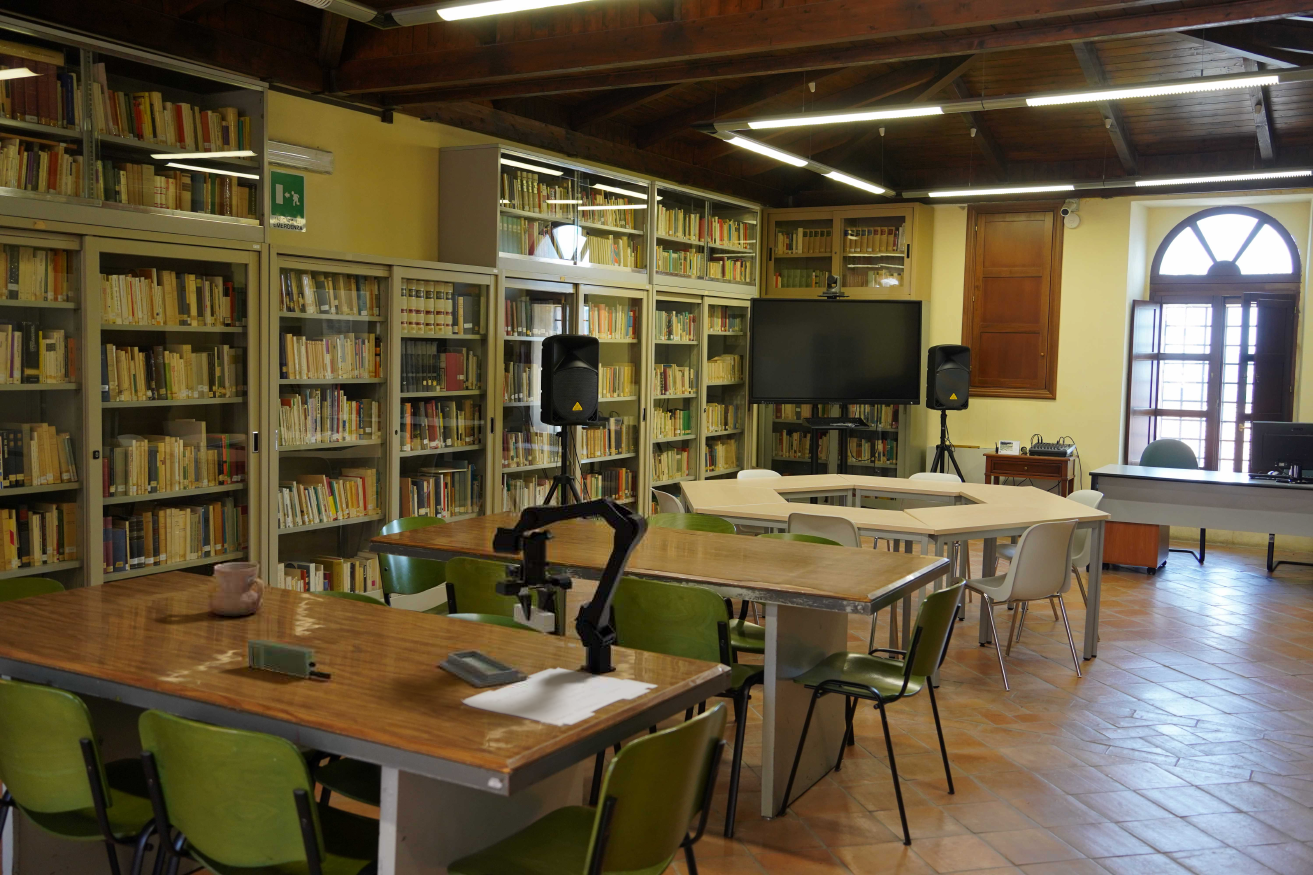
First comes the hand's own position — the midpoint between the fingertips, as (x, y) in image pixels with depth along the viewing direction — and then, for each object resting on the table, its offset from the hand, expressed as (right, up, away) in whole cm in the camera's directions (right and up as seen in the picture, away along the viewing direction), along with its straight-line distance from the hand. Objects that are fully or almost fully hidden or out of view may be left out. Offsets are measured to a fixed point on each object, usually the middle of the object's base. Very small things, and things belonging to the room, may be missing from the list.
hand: (533, 619), depth 260 cm
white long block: (0, -1, 0) cm, 1 cm away
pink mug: (-91, -7, +47) cm, 103 cm away
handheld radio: (-55, -11, -14) cm, 58 cm away
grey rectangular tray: (-11, -11, -10) cm, 18 cm away
